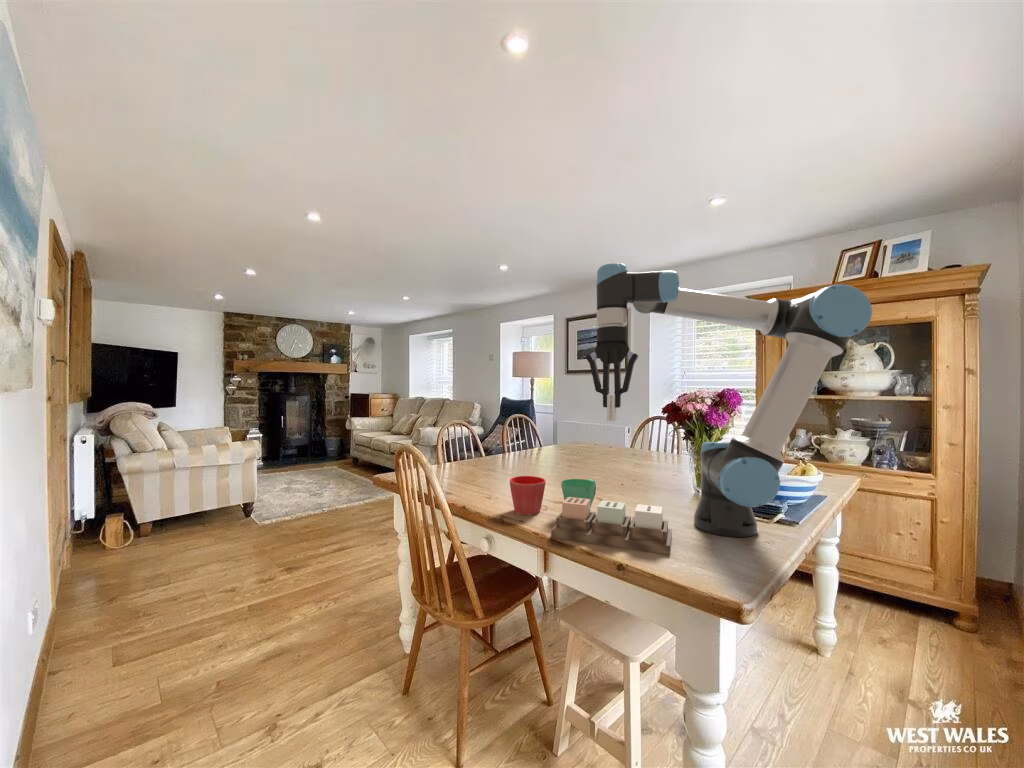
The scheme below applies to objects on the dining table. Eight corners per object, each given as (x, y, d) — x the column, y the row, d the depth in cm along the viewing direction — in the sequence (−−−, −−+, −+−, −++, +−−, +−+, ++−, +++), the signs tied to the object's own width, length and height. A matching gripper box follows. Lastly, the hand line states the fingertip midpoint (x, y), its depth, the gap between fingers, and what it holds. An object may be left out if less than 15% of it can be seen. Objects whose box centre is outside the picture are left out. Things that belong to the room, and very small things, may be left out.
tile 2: (625, 518, 108) (625, 502, 108) (622, 525, 102) (622, 508, 102) (601, 515, 110) (601, 499, 110) (597, 522, 104) (597, 506, 104)
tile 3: (590, 514, 111) (590, 498, 111) (585, 521, 105) (585, 504, 105) (568, 511, 113) (568, 496, 113) (562, 518, 108) (562, 502, 108)
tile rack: (671, 537, 106) (671, 519, 106) (670, 554, 95) (670, 534, 95) (563, 522, 117) (564, 506, 117) (551, 537, 106) (551, 519, 106)
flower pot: (546, 517, 122) (546, 483, 122) (509, 517, 122) (509, 483, 122) (544, 506, 133) (544, 475, 133) (509, 506, 133) (509, 475, 133)
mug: (586, 524, 115) (586, 488, 115) (555, 518, 121) (555, 483, 121) (607, 511, 127) (607, 478, 127) (578, 506, 133) (578, 474, 133)
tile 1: (662, 523, 104) (662, 506, 104) (661, 530, 99) (661, 513, 99) (637, 520, 106) (637, 503, 106) (634, 527, 101) (634, 510, 101)
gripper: (641, 327, 107) (640, 420, 107) (588, 330, 112) (588, 418, 112) (637, 323, 100) (637, 422, 100) (582, 326, 105) (582, 420, 105)
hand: (611, 420), depth 106 cm, fingers closed
